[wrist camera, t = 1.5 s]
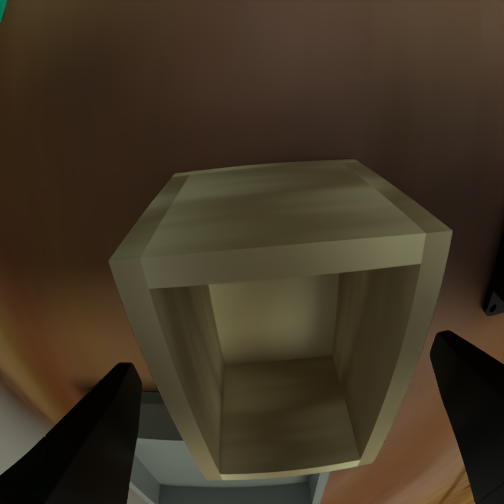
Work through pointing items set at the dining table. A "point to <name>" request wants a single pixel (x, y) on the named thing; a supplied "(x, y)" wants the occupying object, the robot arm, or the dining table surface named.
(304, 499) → the grey tray
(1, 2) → the candle
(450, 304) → the dining table surface
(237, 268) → the birch crate
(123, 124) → the dining table surface
